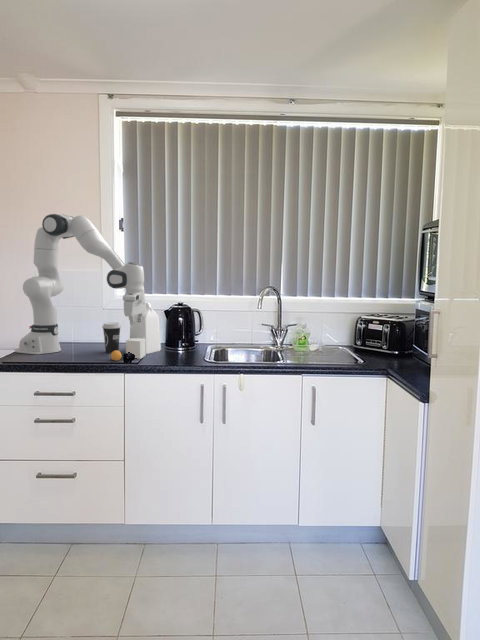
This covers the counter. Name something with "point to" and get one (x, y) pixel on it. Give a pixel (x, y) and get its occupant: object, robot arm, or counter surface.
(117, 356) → the ball
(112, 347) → the coffee cup
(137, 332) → the milk
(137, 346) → the white block
